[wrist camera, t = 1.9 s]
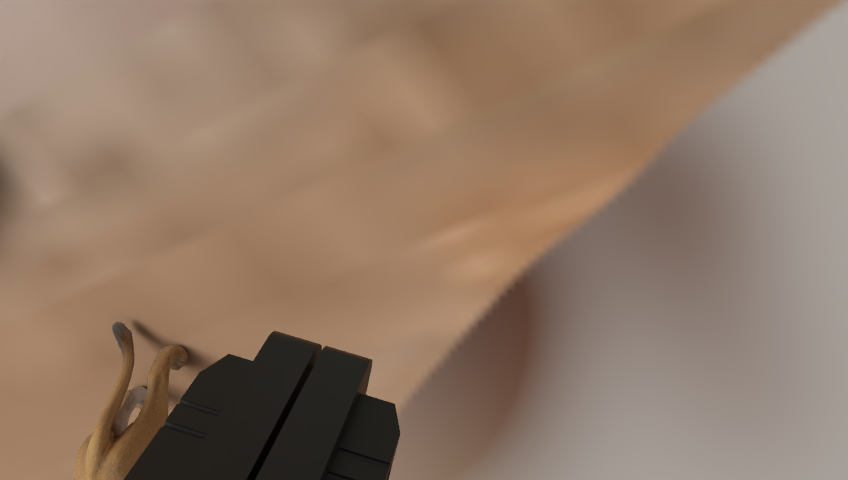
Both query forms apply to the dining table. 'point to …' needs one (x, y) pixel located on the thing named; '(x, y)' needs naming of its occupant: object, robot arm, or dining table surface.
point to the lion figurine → (128, 414)
